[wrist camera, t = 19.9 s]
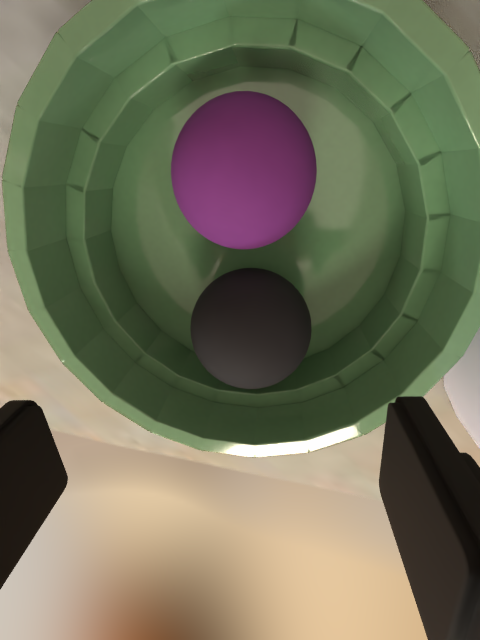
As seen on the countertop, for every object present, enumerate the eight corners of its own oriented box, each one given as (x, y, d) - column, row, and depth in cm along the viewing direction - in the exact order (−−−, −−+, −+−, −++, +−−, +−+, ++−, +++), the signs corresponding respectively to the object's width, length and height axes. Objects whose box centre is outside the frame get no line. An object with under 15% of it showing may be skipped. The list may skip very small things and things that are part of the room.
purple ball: (195, 237, 17) (168, 271, 12) (178, 108, 15) (135, 87, 10) (307, 229, 17) (325, 261, 12) (307, 95, 15) (331, 65, 10)
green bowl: (126, 384, 22) (77, 453, 17) (44, 51, 15) (-85, -12, 10) (411, 383, 20) (458, 463, 15) (466, -8, 13) (597, -132, 8)
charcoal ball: (209, 352, 20) (186, 414, 15) (197, 257, 18) (165, 293, 13) (307, 350, 19) (316, 416, 14) (307, 252, 17) (318, 287, 12)
